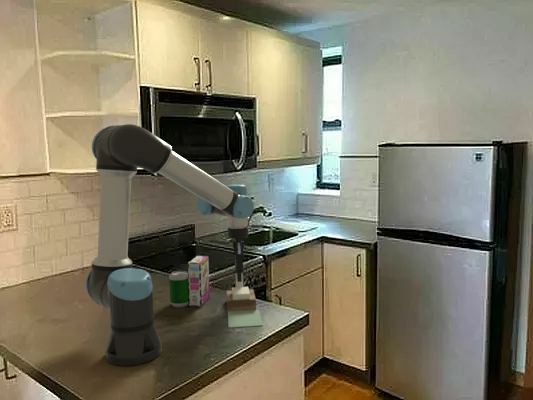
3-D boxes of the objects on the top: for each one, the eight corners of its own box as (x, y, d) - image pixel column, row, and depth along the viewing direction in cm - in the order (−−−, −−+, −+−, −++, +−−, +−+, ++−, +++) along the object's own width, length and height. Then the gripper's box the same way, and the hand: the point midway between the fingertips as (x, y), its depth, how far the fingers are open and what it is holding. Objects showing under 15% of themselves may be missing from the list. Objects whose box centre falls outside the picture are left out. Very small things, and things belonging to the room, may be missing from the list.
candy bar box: (202, 307, 166) (200, 262, 164) (188, 306, 167) (186, 262, 165) (210, 296, 177) (208, 255, 175) (198, 296, 178) (196, 255, 176)
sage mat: (262, 325, 147) (262, 324, 147) (228, 328, 146) (228, 327, 146) (258, 310, 161) (258, 309, 161) (227, 312, 160) (227, 311, 160)
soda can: (189, 307, 165) (187, 275, 164) (168, 308, 165) (166, 276, 164) (192, 300, 173) (191, 269, 171) (172, 301, 173) (171, 270, 171)
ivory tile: (249, 299, 161) (249, 293, 161) (232, 300, 161) (232, 294, 161) (248, 291, 169) (248, 286, 169) (232, 292, 169) (231, 287, 168)
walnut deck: (256, 310, 161) (255, 299, 161) (227, 312, 160) (227, 301, 160) (253, 299, 173) (253, 289, 172) (226, 300, 172) (226, 290, 171)
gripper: (249, 229, 162) (251, 294, 164) (246, 223, 174) (248, 283, 177) (228, 230, 161) (230, 295, 163) (227, 224, 174) (228, 284, 176)
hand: (239, 289), depth 170 cm, fingers closed
